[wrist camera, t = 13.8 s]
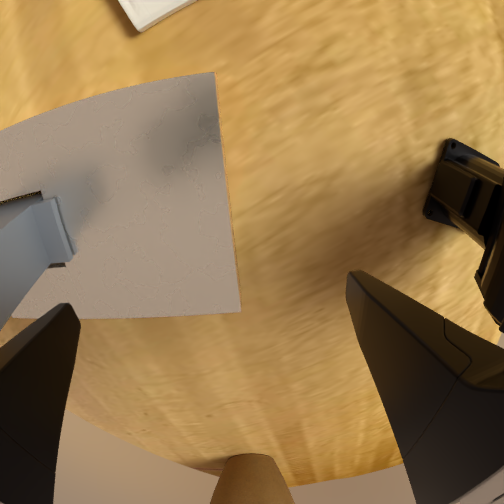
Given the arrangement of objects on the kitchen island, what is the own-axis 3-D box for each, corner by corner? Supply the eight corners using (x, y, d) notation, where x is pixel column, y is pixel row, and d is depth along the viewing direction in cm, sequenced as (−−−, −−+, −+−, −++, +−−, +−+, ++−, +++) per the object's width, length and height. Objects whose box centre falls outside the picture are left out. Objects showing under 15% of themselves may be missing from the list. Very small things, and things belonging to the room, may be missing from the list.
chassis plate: (216, 73, 16) (214, 71, 14) (240, 295, 24) (241, 311, 22) (-34, 149, 16) (-49, 156, 14) (21, 305, 24) (12, 317, 22)
